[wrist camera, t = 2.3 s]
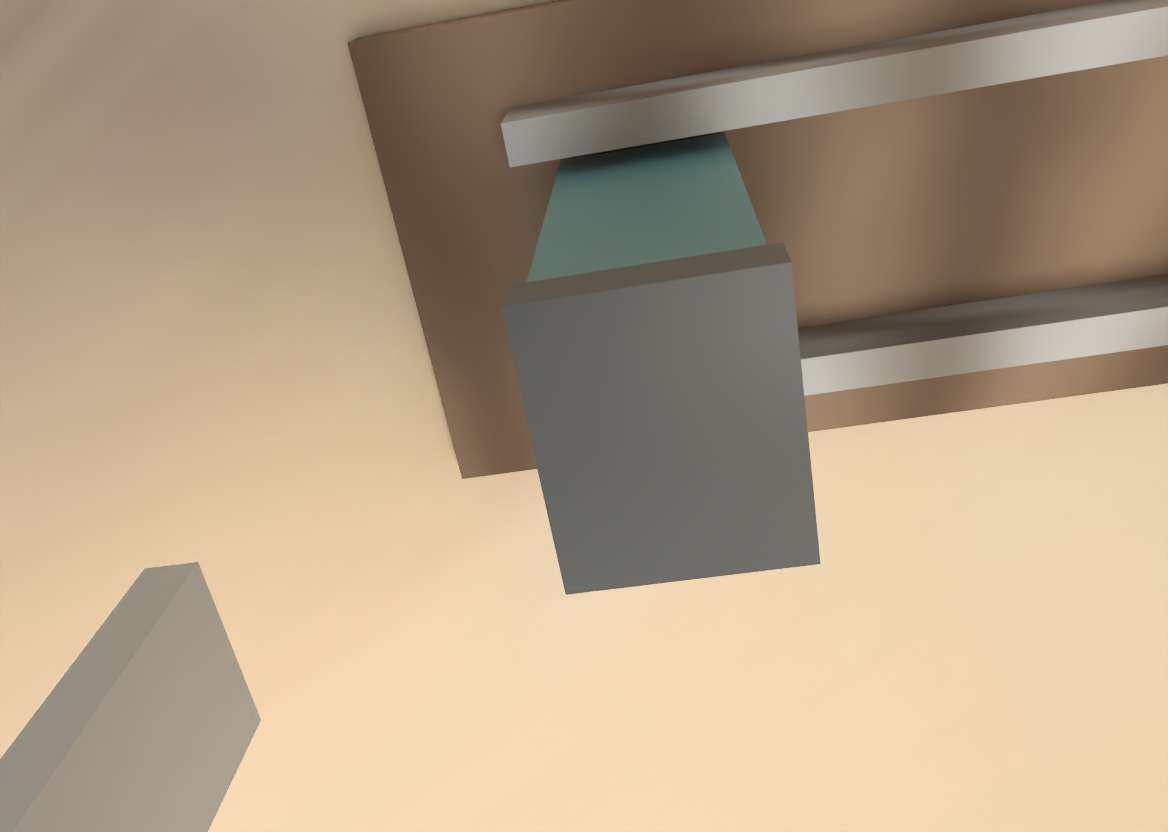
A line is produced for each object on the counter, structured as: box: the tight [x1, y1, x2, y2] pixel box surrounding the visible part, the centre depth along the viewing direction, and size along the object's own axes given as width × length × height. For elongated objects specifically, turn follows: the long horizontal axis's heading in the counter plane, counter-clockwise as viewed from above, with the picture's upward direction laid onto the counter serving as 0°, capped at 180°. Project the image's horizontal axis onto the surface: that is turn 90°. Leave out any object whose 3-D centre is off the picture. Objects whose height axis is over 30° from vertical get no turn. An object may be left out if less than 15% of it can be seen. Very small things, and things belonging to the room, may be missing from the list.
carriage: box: [501, 133, 820, 594], centre depth 22 cm, size 4×5×11 cm
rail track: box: [348, 0, 1168, 479], centre depth 25 cm, size 28×12×3 cm, turn 100°
